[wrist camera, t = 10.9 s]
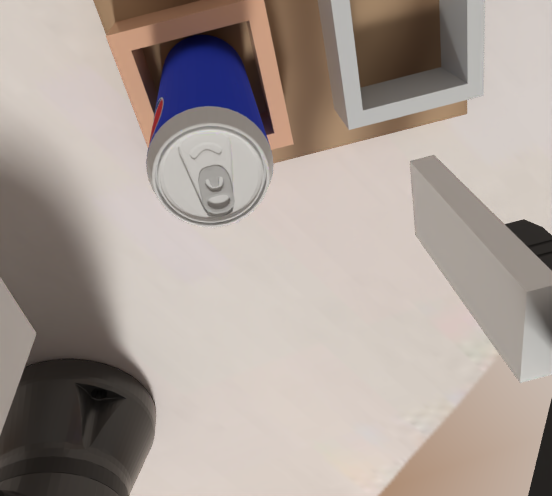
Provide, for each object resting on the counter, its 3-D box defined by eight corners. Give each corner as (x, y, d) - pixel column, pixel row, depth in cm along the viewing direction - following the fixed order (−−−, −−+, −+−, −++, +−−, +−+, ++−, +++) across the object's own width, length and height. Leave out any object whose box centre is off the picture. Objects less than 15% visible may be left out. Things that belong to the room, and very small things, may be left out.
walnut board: (166, 181, 38) (165, 191, 37) (87, -29, 30) (83, -27, 29) (458, 107, 38) (467, 113, 37) (454, -124, 30) (465, -125, 29)
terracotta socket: (162, 153, 35) (159, 178, 32) (115, 22, 31) (105, 36, 27) (284, 122, 35) (293, 144, 32) (255, -14, 31) (263, -5, 27)
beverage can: (152, 41, 32) (126, 129, 19) (236, 25, 32) (265, 102, 19) (174, 122, 34) (164, 244, 22) (251, 107, 35) (284, 221, 22)
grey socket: (334, 109, 35) (349, 130, 32) (313, -29, 31) (327, -21, 27) (456, 77, 35) (483, 95, 32) (453, -66, 31) (485, -62, 27)
